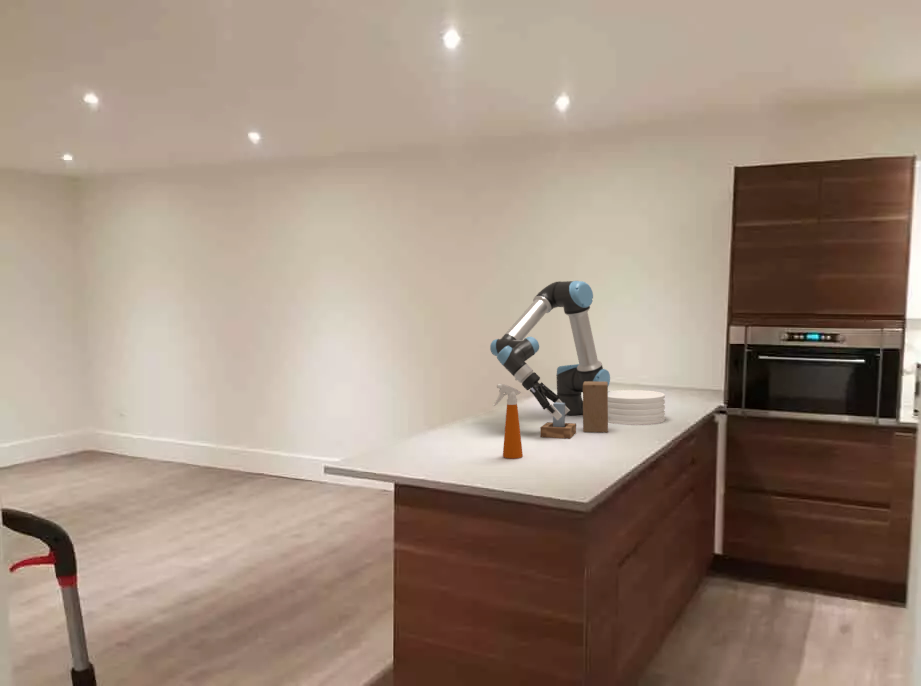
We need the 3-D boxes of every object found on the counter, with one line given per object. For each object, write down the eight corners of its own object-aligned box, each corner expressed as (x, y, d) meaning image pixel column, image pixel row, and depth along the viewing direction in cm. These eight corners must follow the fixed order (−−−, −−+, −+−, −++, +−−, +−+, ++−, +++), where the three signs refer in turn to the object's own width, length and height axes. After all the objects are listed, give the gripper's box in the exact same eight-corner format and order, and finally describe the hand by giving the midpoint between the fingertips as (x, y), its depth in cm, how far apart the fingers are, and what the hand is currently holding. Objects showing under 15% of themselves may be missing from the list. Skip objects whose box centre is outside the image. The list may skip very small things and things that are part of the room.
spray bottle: (490, 456, 267) (488, 383, 266) (517, 453, 271) (516, 381, 269) (498, 460, 261) (496, 385, 259) (526, 457, 265) (525, 383, 263)
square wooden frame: (547, 431, 312) (547, 422, 312) (576, 433, 308) (576, 423, 307) (540, 437, 301) (540, 427, 300) (569, 438, 297) (569, 428, 296)
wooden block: (607, 432, 307) (607, 384, 306) (583, 432, 309) (582, 384, 308) (608, 428, 317) (607, 381, 316) (584, 427, 319) (583, 381, 318)
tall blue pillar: (555, 433, 307) (555, 402, 306) (564, 434, 305) (565, 402, 304) (552, 435, 303) (553, 403, 302) (562, 436, 302) (562, 404, 301)
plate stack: (678, 421, 330) (678, 395, 329) (624, 427, 319) (623, 400, 319) (640, 412, 356) (640, 388, 355) (589, 417, 345) (589, 392, 344)
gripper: (529, 380, 320) (564, 416, 316) (512, 387, 296) (550, 427, 292) (541, 368, 318) (576, 404, 313) (525, 374, 294) (563, 414, 290)
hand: (563, 415), depth 303 cm, fingers open, 13 cm apart
